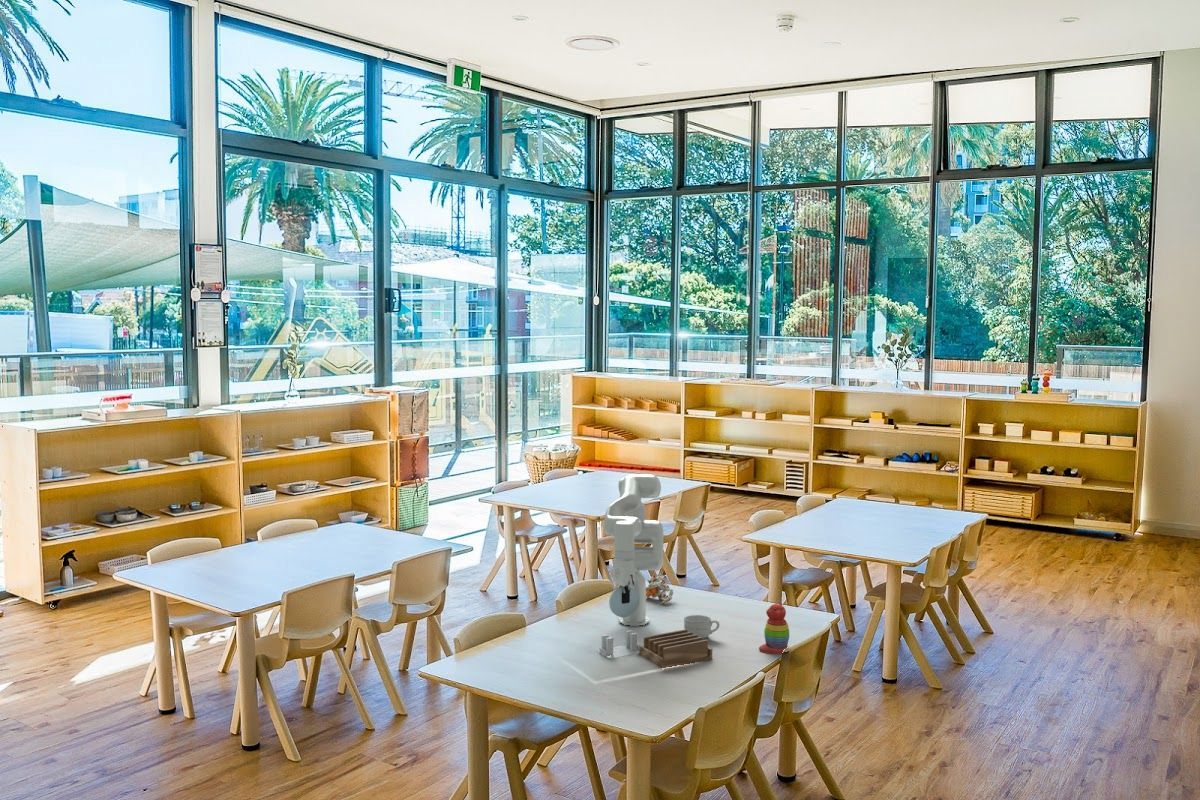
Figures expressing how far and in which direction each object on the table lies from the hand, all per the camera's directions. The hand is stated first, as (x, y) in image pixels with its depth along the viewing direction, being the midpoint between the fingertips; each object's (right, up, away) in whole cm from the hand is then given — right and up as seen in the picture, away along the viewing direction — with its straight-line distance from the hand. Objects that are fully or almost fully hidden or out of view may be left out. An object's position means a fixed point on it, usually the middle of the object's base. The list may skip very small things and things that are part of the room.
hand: (624, 602), depth 381 cm
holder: (-2, -20, +2) cm, 20 cm away
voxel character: (+16, -14, +68) cm, 71 cm away
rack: (+19, -20, -2) cm, 28 cm away
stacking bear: (+58, -20, +6) cm, 61 cm away
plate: (-1, -6, 0) cm, 6 cm away
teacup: (+31, -18, +20) cm, 41 cm away
